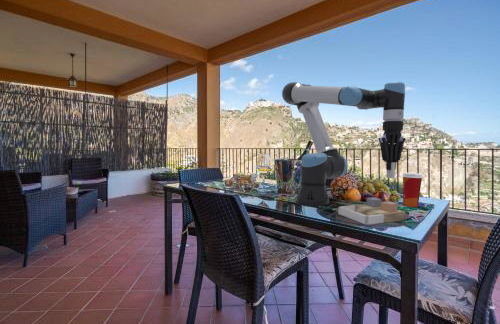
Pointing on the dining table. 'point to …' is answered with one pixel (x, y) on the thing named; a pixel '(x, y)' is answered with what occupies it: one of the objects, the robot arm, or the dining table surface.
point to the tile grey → (373, 202)
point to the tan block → (389, 206)
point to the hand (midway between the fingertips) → (390, 177)
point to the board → (377, 210)
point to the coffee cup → (411, 189)
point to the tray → (360, 215)
